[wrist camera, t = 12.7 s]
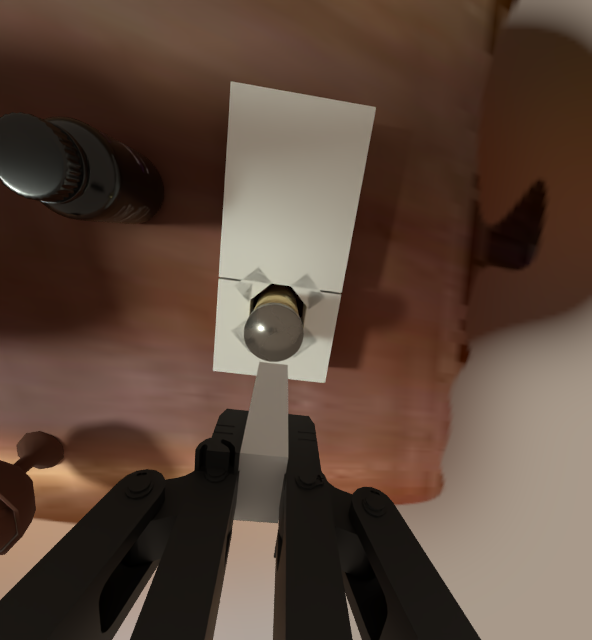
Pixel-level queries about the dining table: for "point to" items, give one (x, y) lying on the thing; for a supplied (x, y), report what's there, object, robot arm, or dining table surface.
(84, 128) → the supplement bottle
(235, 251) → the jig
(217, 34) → the dining table surface
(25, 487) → the ice cream bowl
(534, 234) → the dining table surface
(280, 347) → the gold grey cylinder
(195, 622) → the robot arm
